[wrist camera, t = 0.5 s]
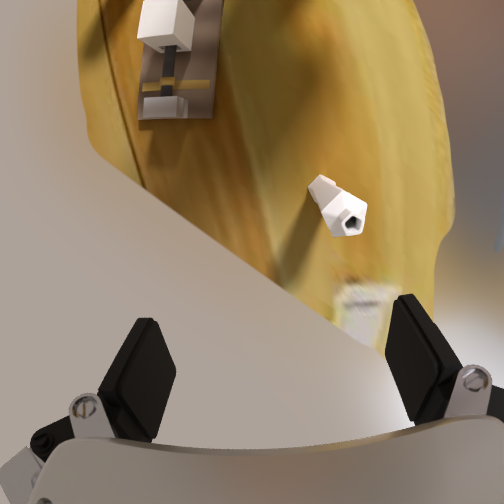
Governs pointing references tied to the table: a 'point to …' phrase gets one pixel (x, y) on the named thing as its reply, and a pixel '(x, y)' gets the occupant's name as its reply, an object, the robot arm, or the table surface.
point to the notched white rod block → (166, 25)
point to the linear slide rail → (183, 70)
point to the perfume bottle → (338, 207)
